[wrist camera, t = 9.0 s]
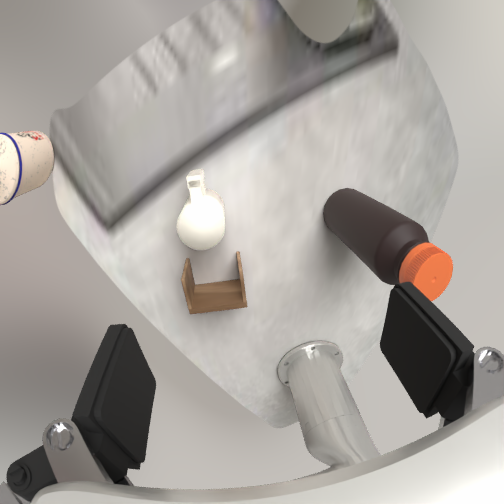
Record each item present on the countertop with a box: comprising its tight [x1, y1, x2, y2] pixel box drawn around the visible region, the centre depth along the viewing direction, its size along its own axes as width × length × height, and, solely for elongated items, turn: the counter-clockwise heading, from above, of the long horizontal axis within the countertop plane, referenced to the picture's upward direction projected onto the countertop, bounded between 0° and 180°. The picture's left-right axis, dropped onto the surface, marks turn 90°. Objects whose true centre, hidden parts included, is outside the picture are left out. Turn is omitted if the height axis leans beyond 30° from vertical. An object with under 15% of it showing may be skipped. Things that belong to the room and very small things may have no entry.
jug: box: [177, 169, 225, 250], centre depth 32 cm, size 8×5×8 cm, turn 6°
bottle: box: [324, 188, 453, 301], centre depth 29 cm, size 7×7×20 cm
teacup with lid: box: [0, 131, 54, 205], centre depth 24 cm, size 12×9×12 cm
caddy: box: [181, 252, 247, 314], centre depth 37 cm, size 5×7×6 cm
